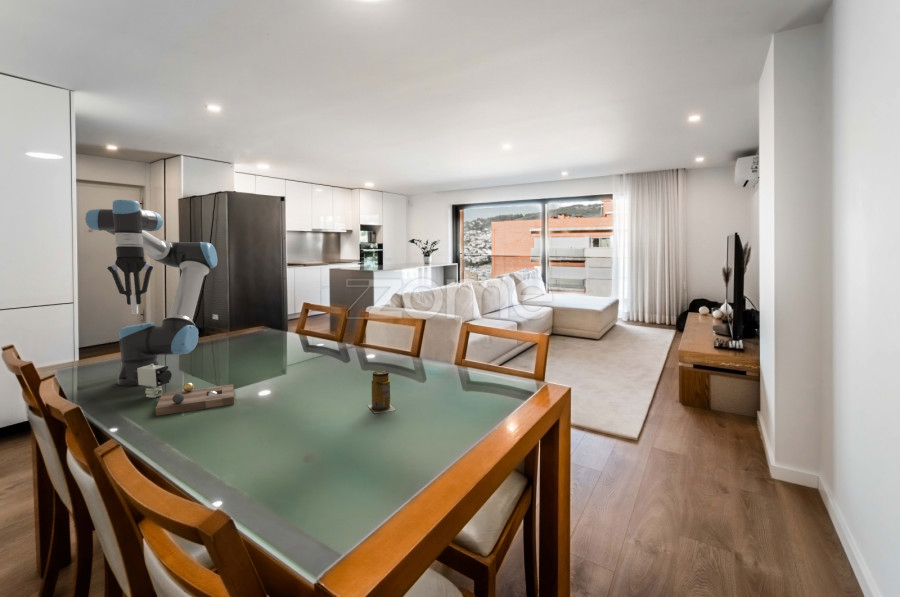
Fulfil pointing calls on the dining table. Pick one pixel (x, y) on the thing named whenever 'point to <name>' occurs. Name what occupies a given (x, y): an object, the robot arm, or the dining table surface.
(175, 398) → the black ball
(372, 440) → the dining table surface
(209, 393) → the steel ball
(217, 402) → the board
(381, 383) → the condiment
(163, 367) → the pneumatic valve
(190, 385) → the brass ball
